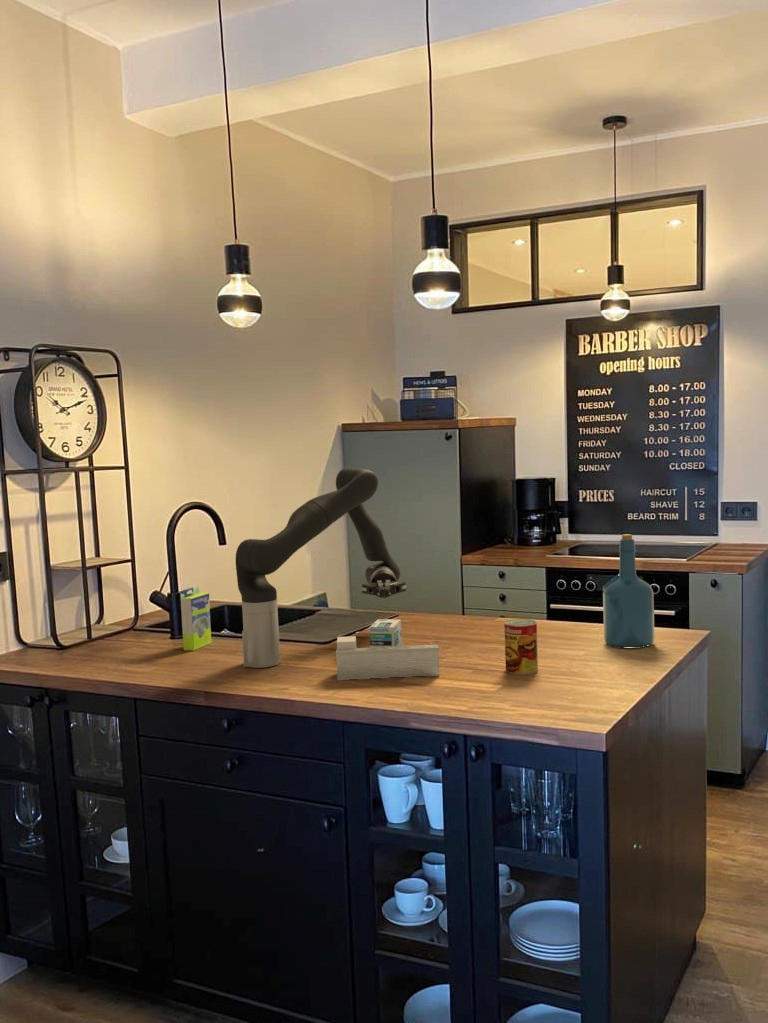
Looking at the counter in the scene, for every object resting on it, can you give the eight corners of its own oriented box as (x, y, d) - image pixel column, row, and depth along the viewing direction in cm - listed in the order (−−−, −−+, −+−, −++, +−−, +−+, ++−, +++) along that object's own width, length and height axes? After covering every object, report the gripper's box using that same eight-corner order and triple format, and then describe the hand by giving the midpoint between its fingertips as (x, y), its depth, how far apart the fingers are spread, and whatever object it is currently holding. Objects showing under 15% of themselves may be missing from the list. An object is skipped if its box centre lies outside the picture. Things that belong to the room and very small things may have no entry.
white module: (338, 678, 223) (336, 642, 222) (339, 671, 229) (337, 636, 229) (357, 677, 223) (355, 641, 222) (357, 670, 229) (355, 635, 229)
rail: (337, 681, 220) (335, 652, 219) (338, 672, 229) (337, 643, 228) (439, 677, 220) (438, 647, 219) (437, 667, 229) (436, 639, 229)
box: (194, 651, 260) (190, 591, 258) (181, 650, 261) (178, 591, 260) (212, 643, 270) (209, 585, 268) (200, 642, 271) (197, 585, 270)
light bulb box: (396, 668, 230) (394, 626, 229) (370, 668, 232) (368, 626, 231) (403, 658, 241) (402, 618, 240) (378, 658, 242) (377, 618, 241)
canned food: (500, 668, 226) (498, 621, 225) (527, 665, 229) (526, 618, 228) (515, 676, 218) (514, 626, 218) (544, 671, 221) (542, 623, 220)
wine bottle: (663, 642, 247) (661, 533, 245) (639, 652, 237) (637, 538, 235) (618, 636, 256) (615, 531, 254) (593, 645, 247) (591, 536, 244)
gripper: (360, 571, 262) (359, 580, 245) (405, 568, 263) (408, 578, 245) (361, 596, 263) (360, 608, 246) (406, 594, 263) (409, 605, 246)
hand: (384, 593), depth 246 cm, fingers closed
